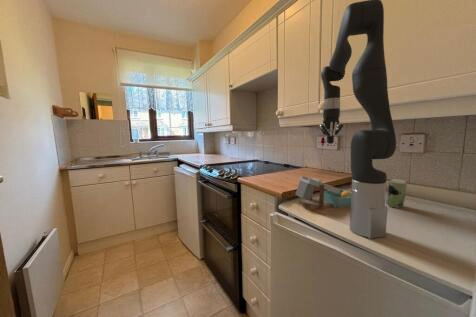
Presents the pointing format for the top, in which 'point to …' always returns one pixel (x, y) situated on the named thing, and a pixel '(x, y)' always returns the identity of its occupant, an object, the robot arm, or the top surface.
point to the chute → (311, 187)
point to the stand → (316, 201)
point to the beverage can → (396, 193)
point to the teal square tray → (337, 198)
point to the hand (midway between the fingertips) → (330, 143)
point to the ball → (345, 194)
